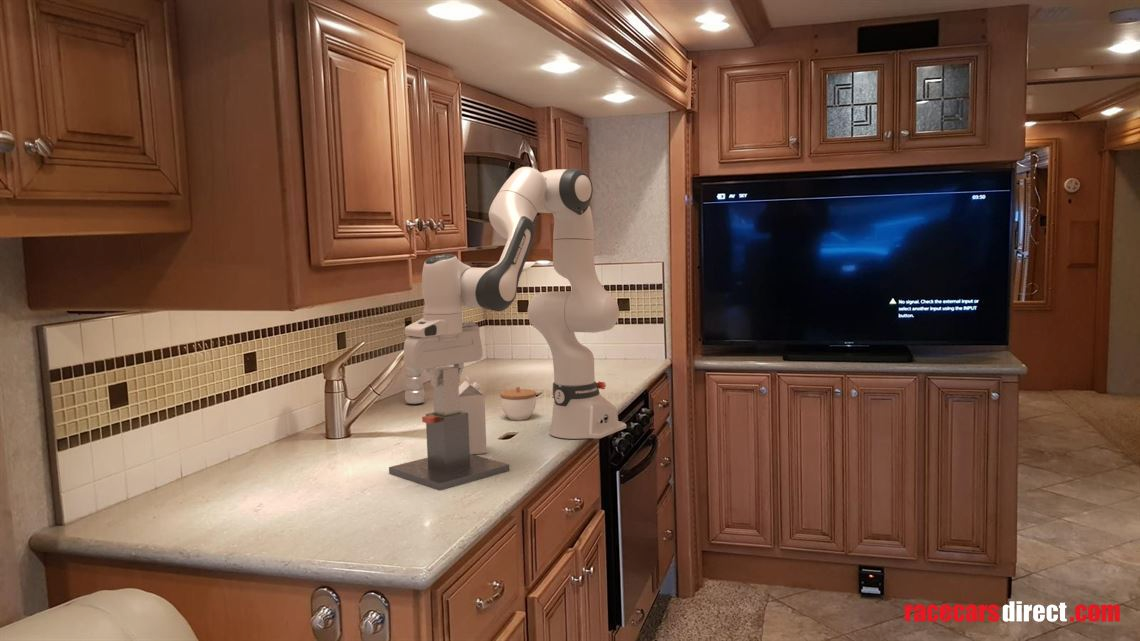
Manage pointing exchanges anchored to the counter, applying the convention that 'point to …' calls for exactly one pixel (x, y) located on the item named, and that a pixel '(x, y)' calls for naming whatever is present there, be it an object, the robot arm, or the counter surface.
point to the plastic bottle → (414, 387)
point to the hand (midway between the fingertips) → (445, 384)
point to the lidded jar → (518, 403)
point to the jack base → (448, 456)
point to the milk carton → (474, 415)
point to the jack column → (446, 392)
